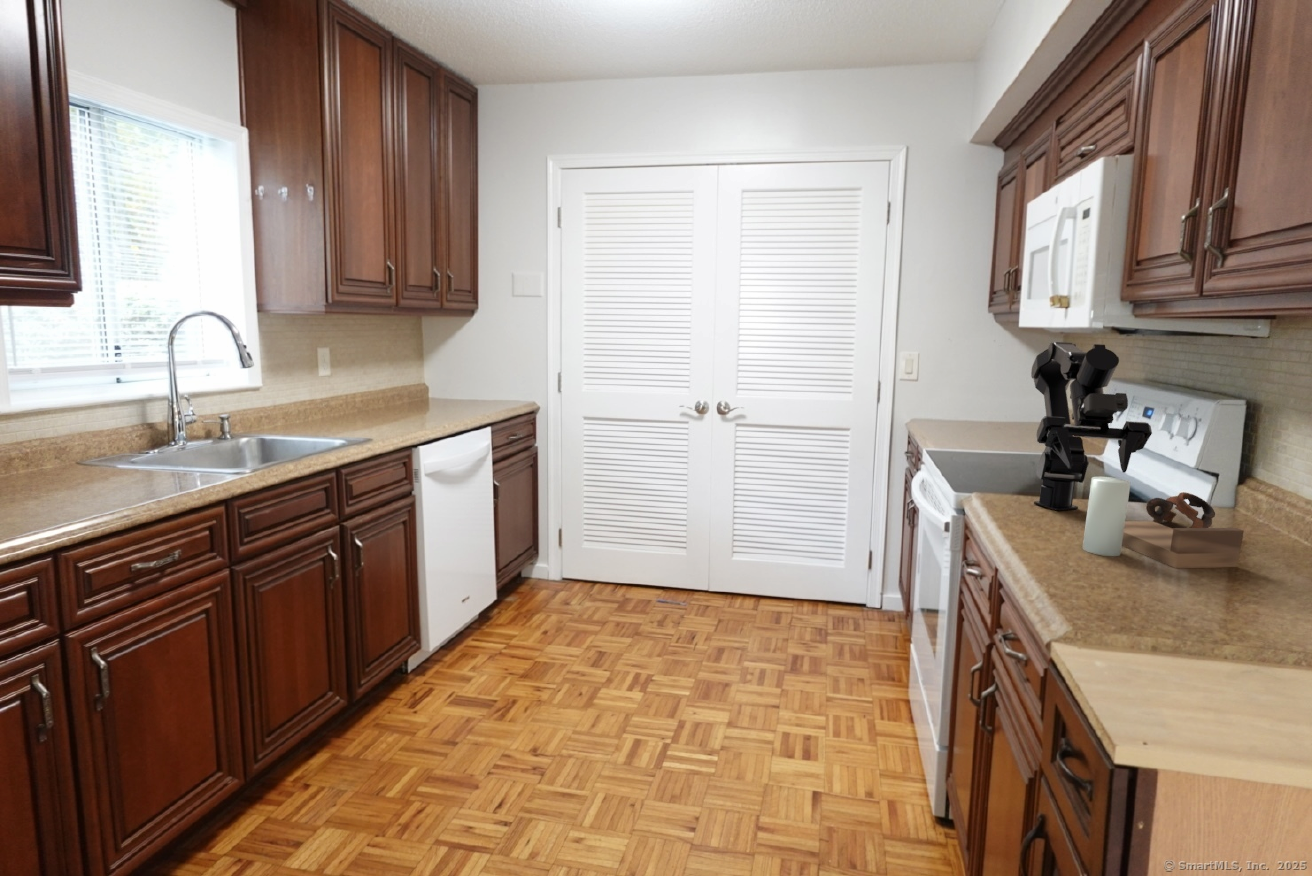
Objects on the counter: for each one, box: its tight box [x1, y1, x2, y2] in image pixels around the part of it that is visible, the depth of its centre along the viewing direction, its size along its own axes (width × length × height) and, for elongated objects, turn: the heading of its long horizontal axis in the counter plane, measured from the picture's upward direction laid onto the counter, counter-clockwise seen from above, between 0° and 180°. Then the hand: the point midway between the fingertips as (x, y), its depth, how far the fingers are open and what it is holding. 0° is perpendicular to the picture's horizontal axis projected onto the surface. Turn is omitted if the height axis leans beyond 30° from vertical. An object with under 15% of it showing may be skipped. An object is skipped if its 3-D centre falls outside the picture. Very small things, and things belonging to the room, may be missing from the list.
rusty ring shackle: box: [1145, 491, 1216, 528], centre depth 160 cm, size 12×10×8 cm
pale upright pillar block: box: [1082, 476, 1131, 557], centre depth 141 cm, size 6×6×13 cm
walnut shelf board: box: [1122, 520, 1245, 569], centre depth 144 cm, size 20×12×6 cm, turn 8°
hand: (1097, 469), depth 148 cm, fingers open, 9 cm apart
